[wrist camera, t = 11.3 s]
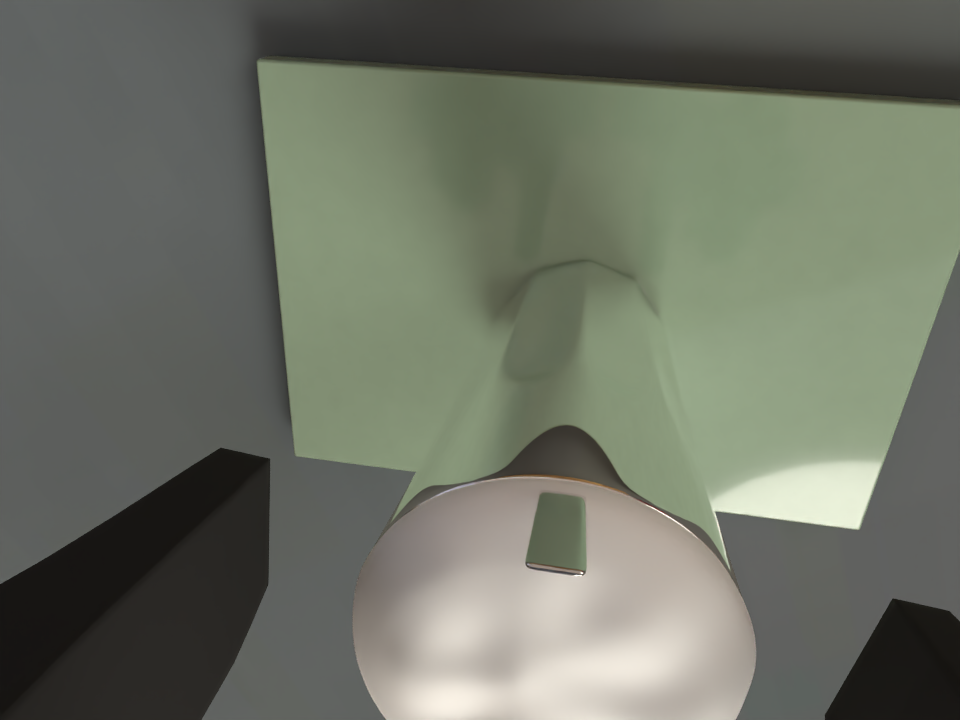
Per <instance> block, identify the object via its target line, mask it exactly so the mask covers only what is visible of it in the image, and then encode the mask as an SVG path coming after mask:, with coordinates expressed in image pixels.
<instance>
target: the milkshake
mask: <svg viewBox="0 0 960 720" xmlns="http://www.w3.org/2000/svg"><path fill="white" fill-rule="evenodd" d="M353 641H354V648H355V653H356V658H357V662H358V665H359V668H360V671H361V674H362V677H363V679H364V682H365V684H366V687H367V689H368V691H369V693H370V695H371V697H372V699H373V701H374V702H375V704H376V705H377V707H378V709H379V710H380V712H381V713H382V715H383V716H384V717H385V719H386V720H736V718H737V716H738V714H739V712H740V710H741V707H742V705H743V703H744V700H745V698H746V695H747V693H748V690H749V687H750V685H751V681H752V678H753V674H754V670H755V664H756V643H755V635H754V630H753V626H752V622H751V619H750V616H749V613H748V611H747V608H746V606H745V603H744V601H743V598H742V595H741V592H740V589H739V585H738V582H737V579H736V576H735V573H734V570H733V567H732V564H731V560H730V557H729V554H728V551H727V548H726V545H725V542H724V539H723V536H722V532H721V529H720V526H719V523H718V520H717V517H716V514H715V511H714V508H713V505H712V501H711V498H710V495H709V492H708V489H707V486H706V483H705V480H704V477H703V473H702V470H701V467H700V463H699V459H698V456H697V452H696V448H695V444H694V440H693V436H692V433H691V429H690V425H689V421H688V418H687V414H686V410H685V406H684V403H683V399H682V395H681V392H680V388H679V384H678V380H677V377H676V373H675V369H674V366H673V362H672V358H671V354H670V351H669V347H668V343H667V340H666V336H665V332H664V329H663V325H662V323H661V321H660V319H659V318H658V316H657V314H656V313H655V311H654V309H653V308H652V306H651V304H650V302H649V301H648V299H647V297H646V296H645V294H644V292H643V290H642V289H641V287H640V285H639V283H638V282H637V281H636V280H634V279H632V278H629V277H627V276H625V275H622V274H620V273H617V272H615V271H613V270H610V269H608V268H606V267H603V266H601V265H599V264H596V263H594V262H592V261H589V260H587V261H582V262H577V263H572V264H567V265H562V266H556V267H551V268H545V269H540V270H537V271H536V272H535V273H534V274H533V275H532V277H531V278H530V279H529V280H528V281H527V282H526V283H525V284H524V285H523V286H522V287H521V288H520V289H519V290H518V291H517V292H516V293H515V295H514V296H513V297H512V298H511V299H510V300H509V301H508V302H507V303H506V304H505V305H504V306H503V308H502V310H501V312H500V314H499V316H498V318H497V320H496V322H495V323H494V325H493V327H492V329H491V331H490V333H489V335H488V337H487V339H486V341H485V343H484V345H483V347H482V349H481V351H480V353H479V355H478V357H477V358H476V360H475V362H474V364H473V366H472V368H471V370H470V372H469V374H468V376H467V378H466V380H465V382H464V384H463V386H462V388H461V390H460V392H459V394H458V396H457V397H456V399H455V401H454V403H453V405H452V407H451V409H450V411H449V413H448V415H447V417H446V419H445V421H444V423H443V425H442V427H441V429H440V431H439V433H438V435H437V437H436V439H435V440H434V442H433V444H432V446H431V447H430V449H429V451H428V453H427V454H426V456H425V458H424V460H423V461H422V463H421V465H420V467H419V468H418V470H417V472H416V474H415V475H414V477H413V479H412V481H411V482H410V484H409V486H408V488H407V489H406V491H405V493H404V494H403V496H402V498H401V500H400V501H399V503H398V505H397V507H396V508H395V510H394V512H393V514H392V515H391V517H390V519H389V521H388V522H387V524H386V526H385V528H384V529H383V531H382V533H381V534H380V536H379V538H378V540H377V542H376V543H375V545H374V547H373V549H372V550H371V552H370V553H369V555H368V557H367V558H366V560H365V562H364V564H363V566H362V569H361V571H360V574H359V577H358V580H357V584H356V589H355V595H354V603H353Z"/></svg>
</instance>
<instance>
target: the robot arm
mask: <svg viewBox="0 0 960 720" xmlns="http://www.w3.org/2000/svg"><path fill="white" fill-rule="evenodd" d="M269 502H270V459H268V458H264V457H260V456H255V455H251V454H246V453H242V452H237V451H233V450H228V449H224V448H220V449H218V450H217V451H215V452H213V453H212V454H210V455H209V456H207V457H205V458H204V459H202V460H200V461H199V462H197V463H196V464H194V465H192V466H191V467H189V468H188V469H186V470H185V471H183V472H182V473H180V474H178V475H177V476H175V477H174V478H172V479H171V480H169V481H168V482H166V483H165V484H163V485H161V486H160V487H158V488H157V489H155V490H154V491H152V492H151V493H149V494H148V495H146V496H144V497H143V498H141V499H140V500H138V501H137V502H135V503H134V504H132V505H130V506H129V507H127V508H126V509H124V510H123V511H121V512H120V513H118V514H116V515H115V516H113V517H112V518H110V519H108V520H107V521H105V522H104V523H102V524H100V525H99V526H97V527H96V528H94V529H92V530H91V531H89V532H87V533H86V534H84V535H83V536H81V537H79V538H78V539H76V540H75V541H73V542H71V543H70V544H68V545H66V546H65V547H63V548H62V549H60V550H58V551H57V552H55V553H54V554H52V555H50V556H49V557H47V558H45V559H44V560H42V561H40V562H39V563H37V564H35V565H33V566H32V567H30V568H28V569H26V570H24V571H23V572H21V573H19V574H17V575H16V576H14V577H12V578H10V579H9V580H7V581H5V582H3V583H2V584H0V720H201V719H202V718H203V716H204V714H205V713H206V711H207V709H208V707H209V706H210V704H211V702H212V700H213V699H214V697H215V695H216V693H217V692H218V690H219V688H220V687H221V685H222V683H223V681H224V680H225V678H226V676H227V674H228V672H229V671H230V669H231V667H232V665H233V664H234V662H235V659H236V657H237V655H238V653H239V651H240V648H241V646H242V644H243V642H244V639H245V637H246V635H247V633H248V631H249V628H250V626H251V624H252V621H253V619H254V617H255V614H256V612H257V610H258V607H259V605H260V603H261V600H262V598H263V595H264V593H265V591H266V588H267V586H268V573H269ZM825 720H960V621H959V620H958V619H957V618H956V617H955V616H954V615H953V614H952V613H951V612H950V611H947V610H942V609H938V608H933V607H929V606H924V605H920V604H916V603H911V602H907V601H902V600H898V599H892V601H891V602H890V604H889V606H888V608H887V609H886V611H885V613H884V614H883V616H882V618H881V620H880V621H879V623H878V625H877V626H876V628H875V630H874V632H873V633H872V635H871V637H870V639H869V640H868V642H867V644H866V645H865V647H864V649H863V651H862V652H861V654H860V656H859V657H858V659H857V661H856V663H855V664H854V666H853V668H852V669H851V671H850V673H849V675H848V676H847V678H846V680H845V681H844V683H843V685H842V687H841V688H840V690H839V692H838V693H837V695H836V697H835V699H834V700H833V702H832V704H831V705H830V707H829V709H828V711H827V712H826V714H825Z"/></svg>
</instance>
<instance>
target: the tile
mask: <svg viewBox="0 0 960 720" xmlns="http://www.w3.org/2000/svg"><path fill="white" fill-rule="evenodd" d="M257 72H258V83H259V93H260V103H261V114H262V124H263V134H264V144H265V155H266V165H267V175H268V186H269V196H270V206H271V217H272V227H273V237H274V248H275V258H276V268H277V279H278V289H279V299H280V309H281V320H282V330H283V340H284V351H285V361H286V371H287V382H288V392H289V402H290V413H291V423H292V433H293V444H294V454H295V456H298V457H306V458H314V459H321V460H329V461H336V462H344V463H352V464H359V465H367V466H374V467H382V468H390V469H397V470H405V471H412V472H417V470H418V468H419V467H420V465H421V463H422V461H423V460H424V458H425V456H426V454H427V453H428V451H429V449H430V447H431V446H432V444H433V442H434V440H435V439H436V437H437V435H438V433H439V431H440V429H441V427H442V425H443V423H444V421H445V419H446V417H447V415H448V413H449V411H450V409H451V407H452V405H453V403H454V401H455V399H456V397H457V396H458V394H459V392H460V390H461V388H462V386H463V384H464V382H465V380H466V378H467V376H468V374H469V372H470V370H471V368H472V366H473V364H474V362H475V360H476V358H477V357H478V355H479V353H480V351H481V349H482V347H483V345H484V343H485V341H486V339H487V337H488V335H489V333H490V331H491V329H492V327H493V325H494V323H495V322H496V320H497V318H498V316H499V314H500V312H501V310H502V308H503V306H504V305H505V304H506V303H507V302H508V301H509V300H510V299H511V298H512V297H513V296H514V295H515V293H516V292H517V291H518V290H519V289H520V288H521V287H522V286H523V285H524V284H525V283H526V282H527V281H528V280H529V279H530V278H531V277H532V275H533V274H534V273H535V272H536V271H537V270H540V269H545V268H551V267H556V266H562V265H567V264H572V263H577V262H582V261H587V260H589V261H592V262H594V263H596V264H599V265H601V266H603V267H606V268H608V269H610V270H613V271H615V272H617V273H620V274H622V275H625V276H627V277H629V278H632V279H634V280H636V281H637V282H638V283H639V285H640V287H641V289H642V290H643V292H644V294H645V296H646V297H647V299H648V301H649V302H650V304H651V306H652V308H653V309H654V311H655V313H656V314H657V316H658V318H659V319H660V321H661V323H662V325H663V329H664V332H665V336H666V340H667V343H668V347H669V351H670V354H671V358H672V362H673V366H674V369H675V373H676V377H677V380H678V384H679V388H680V392H681V395H682V399H683V403H684V406H685V410H686V414H687V418H688V421H689V425H690V429H691V433H692V436H693V440H694V444H695V448H696V452H697V456H698V459H699V463H700V467H701V470H702V473H703V477H704V480H705V483H706V486H707V489H708V492H709V495H710V498H711V501H712V505H713V508H714V511H717V512H724V513H732V514H740V515H747V516H755V517H762V518H770V519H778V520H785V521H793V522H800V523H808V524H816V525H823V526H831V527H838V528H846V529H854V530H859V529H860V527H861V524H862V521H863V519H864V516H865V513H866V510H867V507H868V505H869V502H870V499H871V496H872V493H873V491H874V488H875V485H876V482H877V479H878V477H879V474H880V471H881V468H882V465H883V463H884V460H885V457H886V454H887V452H888V449H889V446H890V443H891V440H892V438H893V435H894V432H895V429H896V426H897V424H898V421H899V418H900V415H901V412H902V410H903V407H904V404H905V401H906V399H907V396H908V393H909V390H910V387H911V385H912V382H913V379H914V376H915V373H916V371H917V368H918V365H919V362H920V359H921V357H922V354H923V351H924V348H925V345H926V343H927V340H928V337H929V334H930V332H931V329H932V326H933V323H934V320H935V318H936V315H937V312H938V309H939V306H940V304H941V301H942V298H943V295H944V292H945V290H946V287H947V284H948V281H949V278H950V276H951V273H952V270H953V267H954V265H955V262H956V259H957V256H958V253H959V251H960V100H945V99H930V98H915V97H899V96H884V95H869V94H853V93H838V92H822V91H807V90H792V89H776V88H761V87H746V86H730V85H715V84H700V83H684V82H669V81H654V80H638V79H623V78H608V77H592V76H577V75H562V74H546V73H531V72H515V71H500V70H485V69H469V68H454V67H439V66H423V65H408V64H393V63H377V62H362V61H347V60H331V59H316V58H301V57H285V56H267V57H264V58H261V59H258V60H257Z"/></svg>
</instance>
